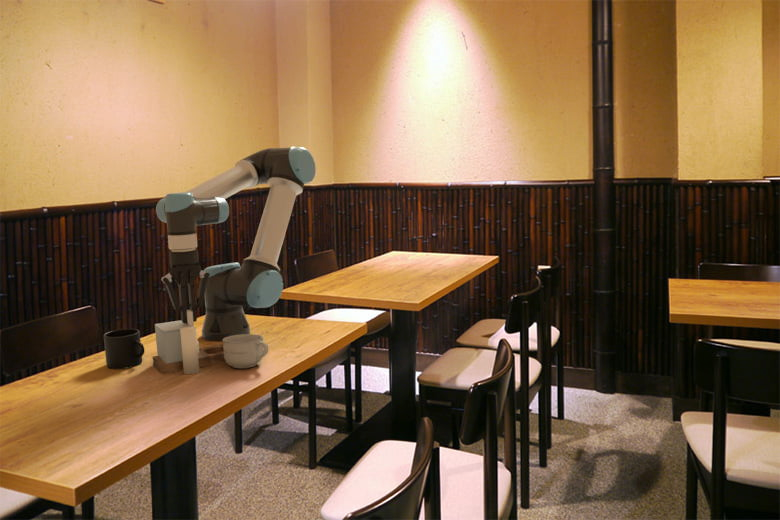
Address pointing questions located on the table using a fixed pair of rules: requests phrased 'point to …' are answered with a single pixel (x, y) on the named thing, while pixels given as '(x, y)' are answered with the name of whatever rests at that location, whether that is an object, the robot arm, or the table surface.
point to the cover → (169, 341)
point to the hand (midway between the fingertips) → (190, 333)
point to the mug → (123, 348)
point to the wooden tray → (204, 356)
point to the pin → (189, 350)
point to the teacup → (244, 350)
